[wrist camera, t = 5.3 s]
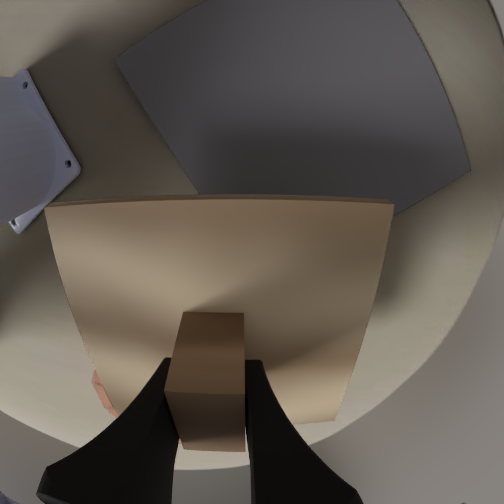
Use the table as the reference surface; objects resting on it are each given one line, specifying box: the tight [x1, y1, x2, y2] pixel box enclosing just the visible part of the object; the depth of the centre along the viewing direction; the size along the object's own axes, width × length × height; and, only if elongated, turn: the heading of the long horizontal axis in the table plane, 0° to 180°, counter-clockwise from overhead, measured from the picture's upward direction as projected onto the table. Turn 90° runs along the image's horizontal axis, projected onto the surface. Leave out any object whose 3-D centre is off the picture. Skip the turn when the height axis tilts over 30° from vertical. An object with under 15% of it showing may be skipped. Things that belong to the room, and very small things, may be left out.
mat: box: [114, 0, 471, 217], centre depth 15 cm, size 17×17×1 cm
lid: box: [44, 194, 394, 452], centre depth 11 cm, size 13×13×5 cm
